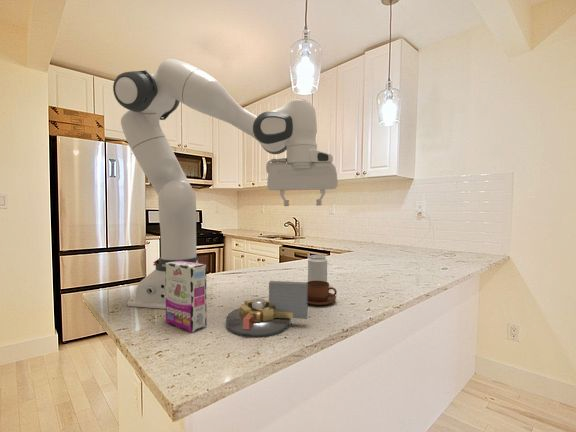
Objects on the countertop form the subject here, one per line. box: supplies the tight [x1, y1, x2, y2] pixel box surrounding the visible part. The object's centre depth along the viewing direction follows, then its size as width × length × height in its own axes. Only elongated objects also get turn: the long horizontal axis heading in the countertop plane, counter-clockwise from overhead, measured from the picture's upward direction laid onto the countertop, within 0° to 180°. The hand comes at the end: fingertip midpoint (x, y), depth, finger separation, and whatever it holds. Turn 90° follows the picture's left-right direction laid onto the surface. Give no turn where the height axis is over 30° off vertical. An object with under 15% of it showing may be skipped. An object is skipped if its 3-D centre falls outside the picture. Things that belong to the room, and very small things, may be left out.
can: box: [307, 254, 328, 282], centre depth 115 cm, size 8×8×12 cm
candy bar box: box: [165, 261, 208, 333], centre depth 78 cm, size 11×5×16 cm, turn 56°
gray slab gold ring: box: [238, 280, 309, 322], centre depth 78 cm, size 18×10×9 cm, turn 81°
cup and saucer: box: [306, 281, 338, 306], centre depth 97 cm, size 12×12×6 cm
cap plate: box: [225, 298, 291, 338], centre depth 79 cm, size 17×17×6 cm
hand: (302, 205), depth 86 cm, fingers open, 8 cm apart
